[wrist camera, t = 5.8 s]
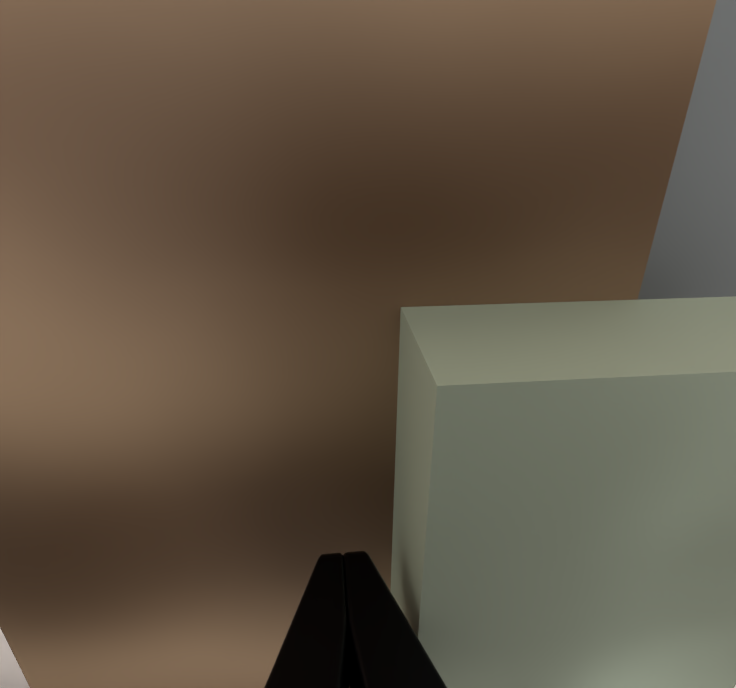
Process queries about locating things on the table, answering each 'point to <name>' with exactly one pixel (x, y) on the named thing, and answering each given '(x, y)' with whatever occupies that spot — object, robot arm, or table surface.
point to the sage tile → (569, 492)
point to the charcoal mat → (702, 182)
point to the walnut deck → (276, 282)
